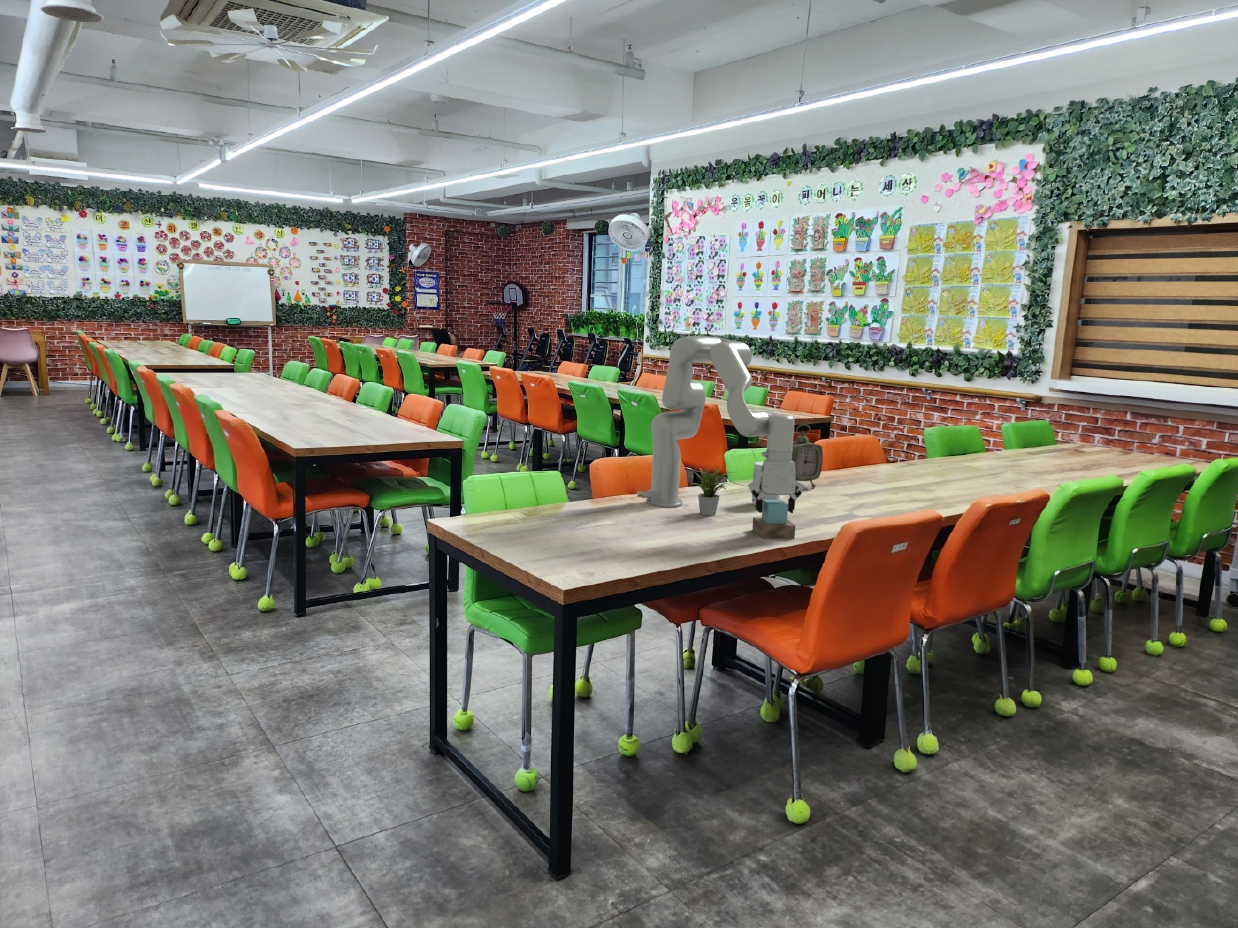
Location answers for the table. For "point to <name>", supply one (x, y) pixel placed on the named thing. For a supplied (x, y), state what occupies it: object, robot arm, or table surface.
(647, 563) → the table surface
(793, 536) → the walnut base
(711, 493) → the house plant
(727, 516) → the table surface
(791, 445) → the robot arm
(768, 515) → the teal cube
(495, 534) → the table surface
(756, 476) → the supplement tub
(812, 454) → the tabletop clock
